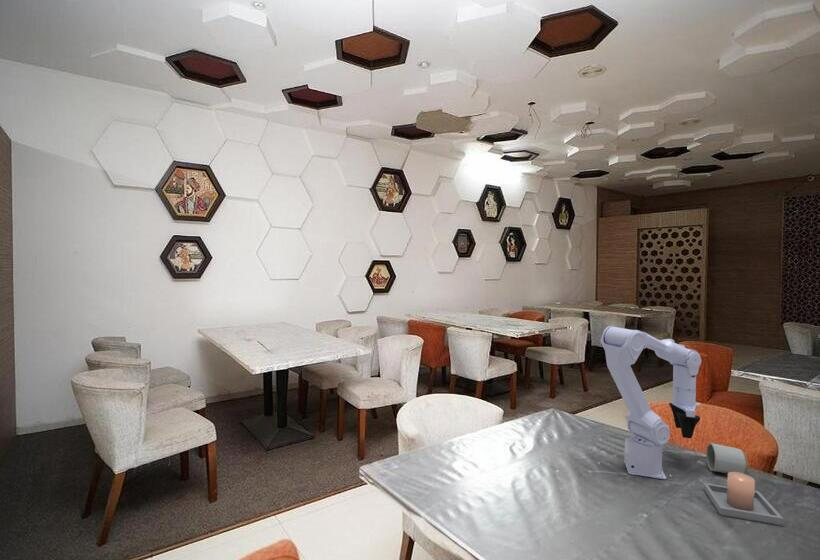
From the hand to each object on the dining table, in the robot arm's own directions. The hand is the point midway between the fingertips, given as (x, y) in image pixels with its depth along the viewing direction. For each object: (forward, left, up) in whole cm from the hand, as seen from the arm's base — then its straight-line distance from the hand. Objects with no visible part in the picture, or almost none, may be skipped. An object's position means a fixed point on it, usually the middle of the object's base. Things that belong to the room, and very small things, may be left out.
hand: (683, 432), depth 122 cm
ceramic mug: (+10, 0, -10) cm, 14 cm away
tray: (+7, -21, -9) cm, 24 cm away
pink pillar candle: (+7, -21, -9) cm, 24 cm away
